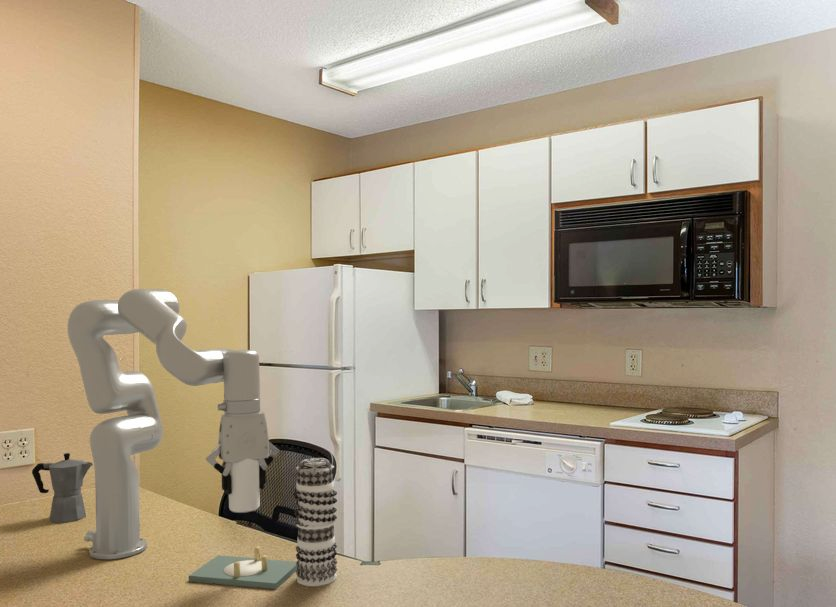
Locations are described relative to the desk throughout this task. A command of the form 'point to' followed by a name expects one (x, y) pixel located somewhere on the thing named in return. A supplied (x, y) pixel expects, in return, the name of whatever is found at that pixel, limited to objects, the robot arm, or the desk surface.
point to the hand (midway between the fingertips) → (244, 489)
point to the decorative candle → (315, 522)
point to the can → (244, 486)
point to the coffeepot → (64, 488)
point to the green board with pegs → (245, 571)
